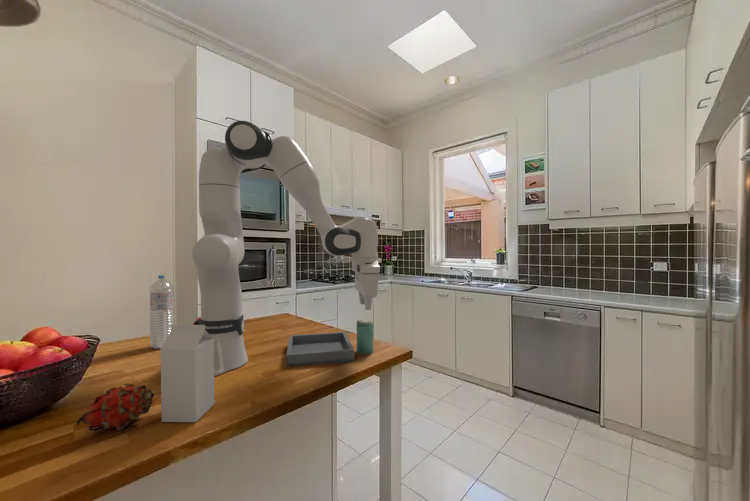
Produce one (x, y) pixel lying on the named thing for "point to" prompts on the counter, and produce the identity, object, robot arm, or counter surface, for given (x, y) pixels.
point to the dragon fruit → (117, 407)
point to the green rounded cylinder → (364, 336)
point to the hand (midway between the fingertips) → (365, 306)
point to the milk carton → (187, 374)
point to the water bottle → (161, 311)
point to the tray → (319, 349)
